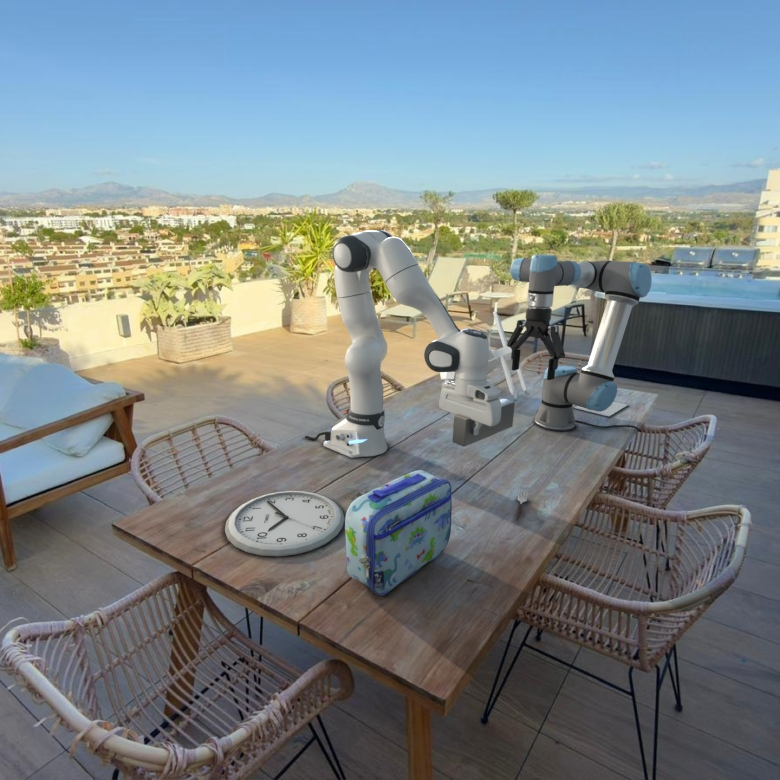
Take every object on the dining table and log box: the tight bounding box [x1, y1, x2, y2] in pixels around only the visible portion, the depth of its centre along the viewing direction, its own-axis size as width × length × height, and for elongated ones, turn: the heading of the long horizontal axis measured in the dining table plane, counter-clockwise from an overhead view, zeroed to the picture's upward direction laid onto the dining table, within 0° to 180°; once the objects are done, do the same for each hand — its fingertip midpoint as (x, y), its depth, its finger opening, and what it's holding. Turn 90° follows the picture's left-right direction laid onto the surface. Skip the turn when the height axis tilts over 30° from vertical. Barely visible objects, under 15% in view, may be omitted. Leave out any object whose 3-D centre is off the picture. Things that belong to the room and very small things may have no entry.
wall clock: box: [224, 490, 345, 557], centre depth 134 cm, size 30×2×30 cm
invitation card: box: [573, 400, 629, 418], centre depth 226 cm, size 21×1×15 cm
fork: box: [516, 487, 529, 521], centre depth 143 cm, size 3×16×2 cm, turn 160°
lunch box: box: [344, 469, 453, 596], centre depth 114 cm, size 26×11×21 cm, turn 135°
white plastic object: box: [439, 310, 531, 400], centre depth 245 cm, size 37×45×31 cm
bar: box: [451, 397, 516, 448], centre depth 159 cm, size 24×4×8 cm, turn 134°
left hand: (466, 431), depth 153 cm, fingers closed on bar, 4 cm apart
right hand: (532, 374), depth 165 cm, fingers open, 13 cm apart
